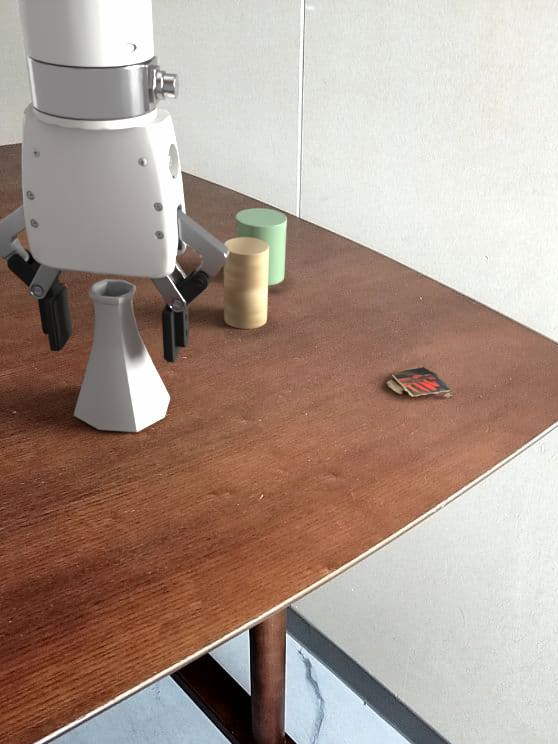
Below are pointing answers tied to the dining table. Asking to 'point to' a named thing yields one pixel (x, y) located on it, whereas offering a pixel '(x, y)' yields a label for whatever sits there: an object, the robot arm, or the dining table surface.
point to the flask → (119, 366)
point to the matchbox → (419, 382)
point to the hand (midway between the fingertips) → (117, 347)
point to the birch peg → (246, 282)
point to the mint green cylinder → (266, 236)
